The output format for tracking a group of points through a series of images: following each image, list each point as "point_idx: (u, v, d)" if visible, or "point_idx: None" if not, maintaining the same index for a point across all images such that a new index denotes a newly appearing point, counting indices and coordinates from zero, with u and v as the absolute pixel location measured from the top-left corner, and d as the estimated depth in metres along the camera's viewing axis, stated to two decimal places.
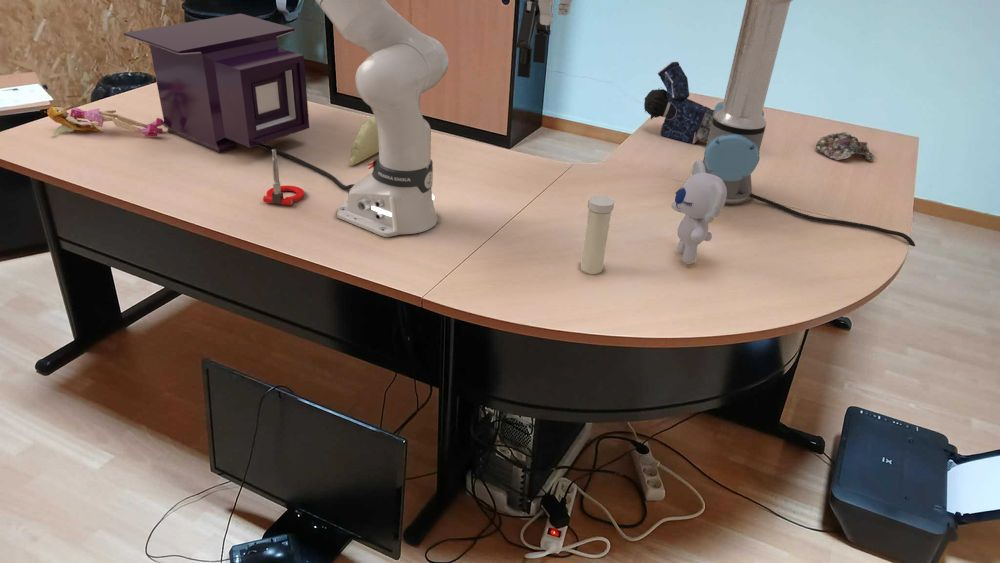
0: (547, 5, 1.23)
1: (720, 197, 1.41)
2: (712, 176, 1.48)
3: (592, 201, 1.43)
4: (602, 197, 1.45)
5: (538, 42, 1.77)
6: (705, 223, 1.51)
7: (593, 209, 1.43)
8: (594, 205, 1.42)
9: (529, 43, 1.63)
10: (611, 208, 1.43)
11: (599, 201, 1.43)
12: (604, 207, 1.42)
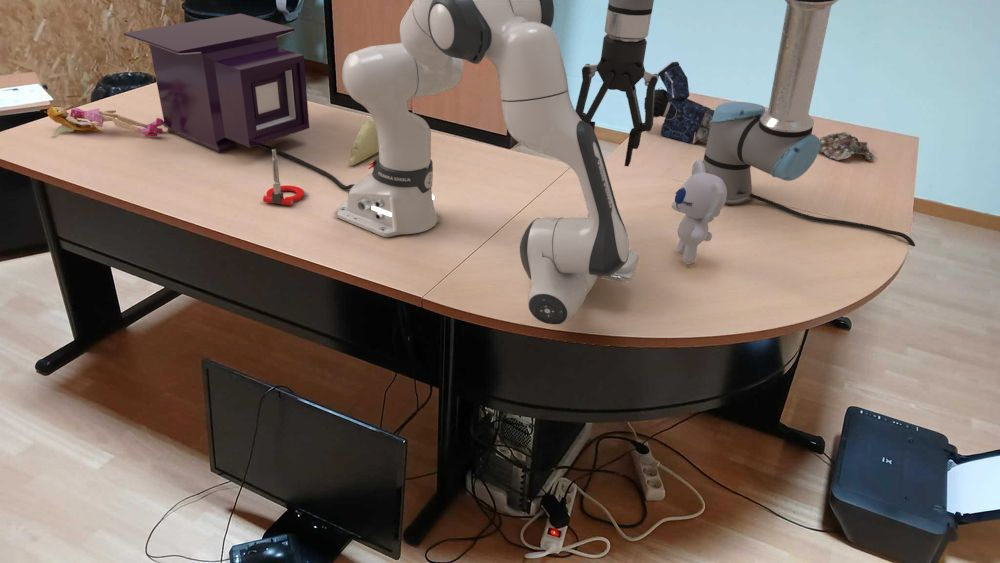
0: None
1: (720, 197, 1.41)
2: (712, 176, 1.48)
3: None
4: None
5: None
6: (705, 223, 1.51)
7: None
8: None
9: (584, 117, 1.35)
10: None
11: None
12: None
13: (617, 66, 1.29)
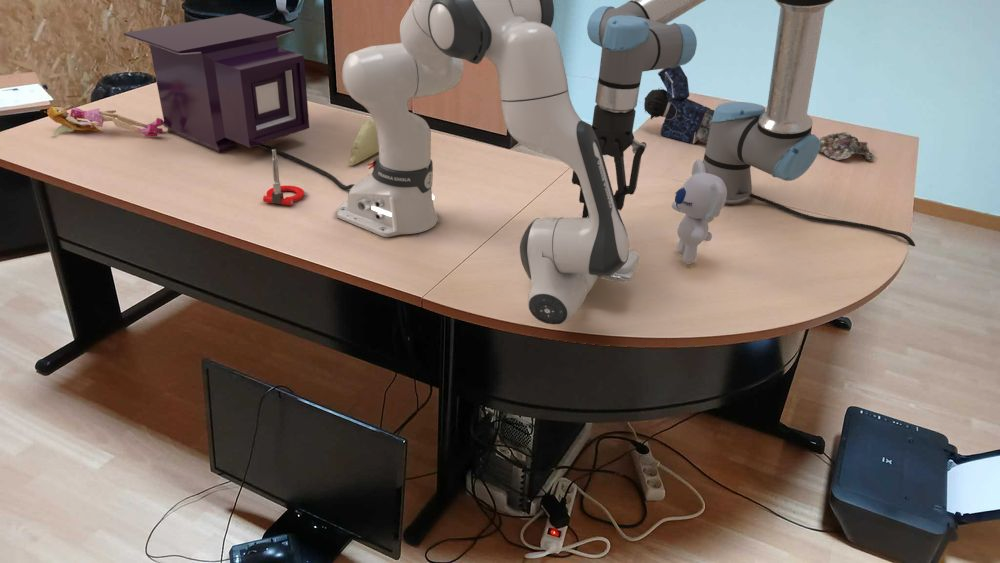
0: None
1: (720, 197, 1.41)
2: (712, 176, 1.48)
3: None
4: None
5: None
6: (705, 223, 1.51)
7: None
8: None
9: None
10: None
11: None
12: None
13: (607, 132, 1.35)
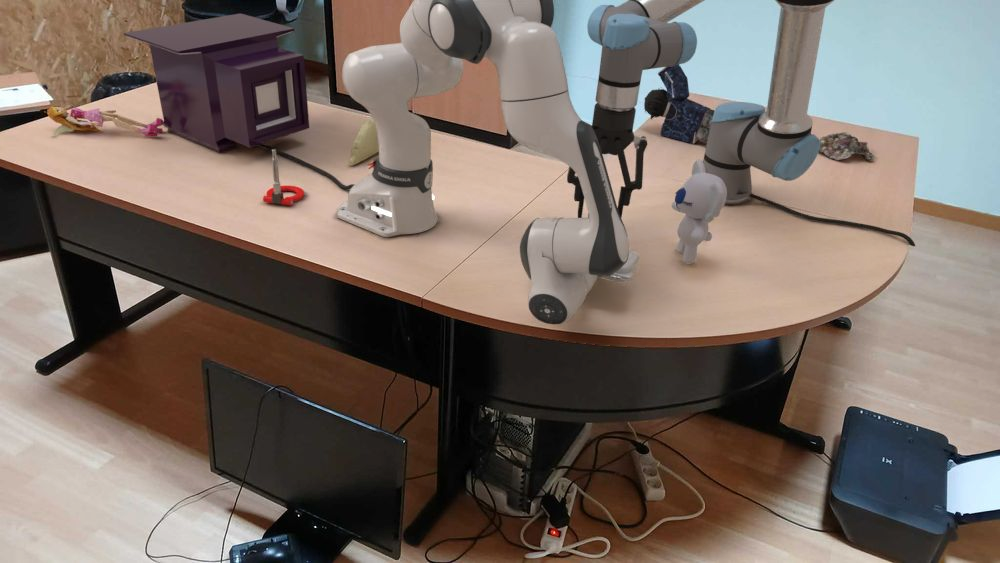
0: None
1: (720, 197, 1.41)
2: (712, 176, 1.48)
3: None
4: None
5: (620, 196, 1.43)
6: (705, 223, 1.51)
7: None
8: None
9: (577, 181, 1.41)
10: None
11: None
12: None
13: (609, 133, 1.35)
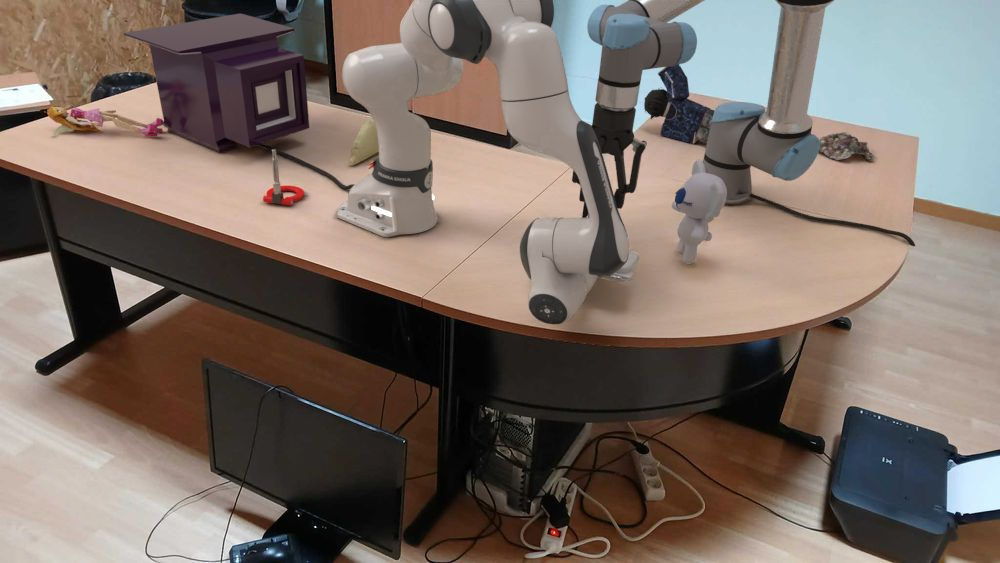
0: None
1: (720, 197, 1.41)
2: (712, 176, 1.48)
3: None
4: None
5: None
6: (705, 223, 1.51)
7: None
8: None
9: None
10: None
11: None
12: None
13: (607, 131, 1.35)
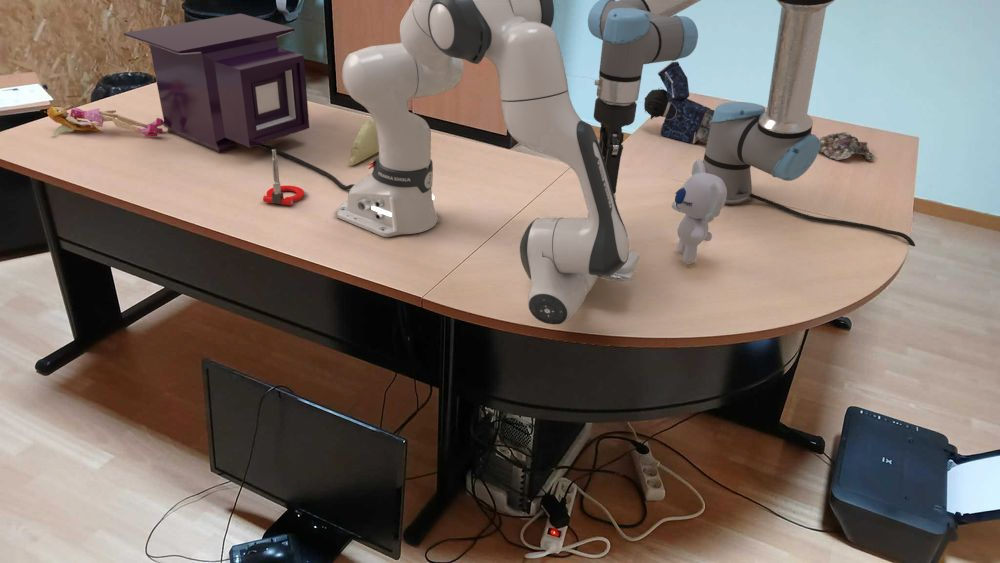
0: None
1: (720, 197, 1.41)
2: (712, 176, 1.48)
3: None
4: None
5: None
6: (705, 223, 1.51)
7: None
8: None
9: None
10: None
11: None
12: None
13: None
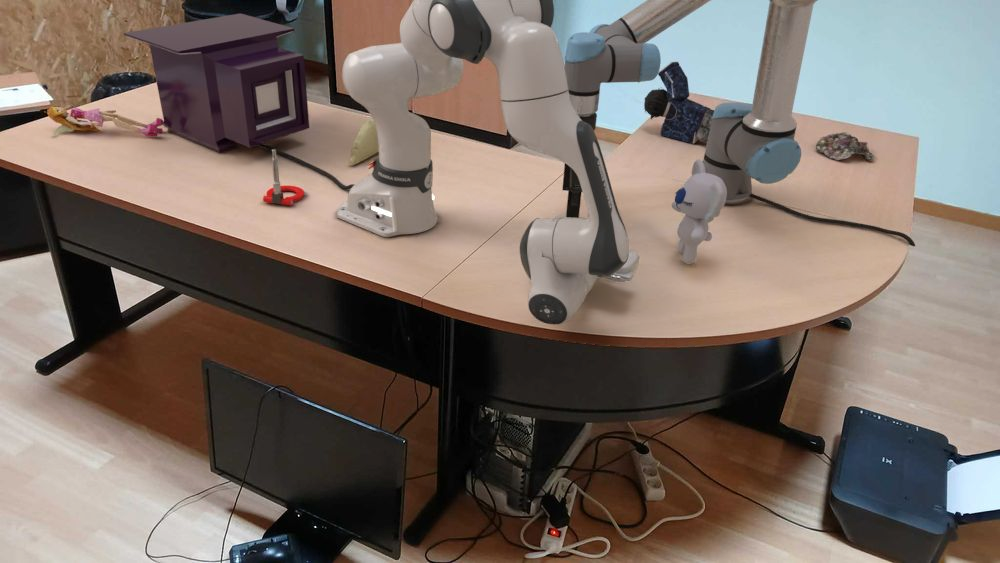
0: None
1: (720, 197, 1.41)
2: (712, 176, 1.48)
3: None
4: None
5: (568, 171, 1.67)
6: (705, 223, 1.51)
7: None
8: None
9: None
10: None
11: None
12: None
13: None
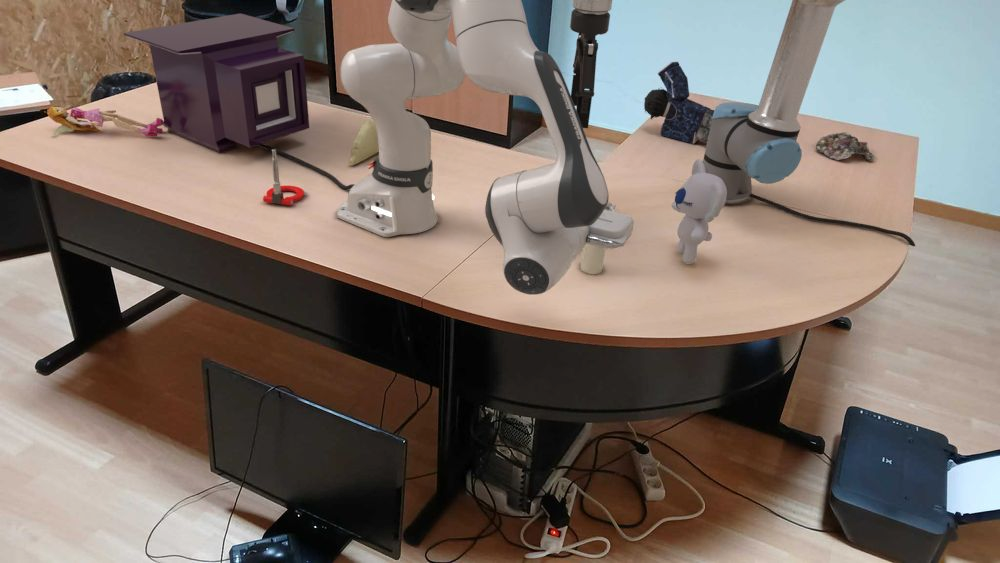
0: None
1: (720, 197, 1.41)
2: (712, 176, 1.48)
3: None
4: None
5: (577, 84, 1.56)
6: (705, 223, 1.51)
7: None
8: None
9: None
10: None
11: None
12: None
13: None
